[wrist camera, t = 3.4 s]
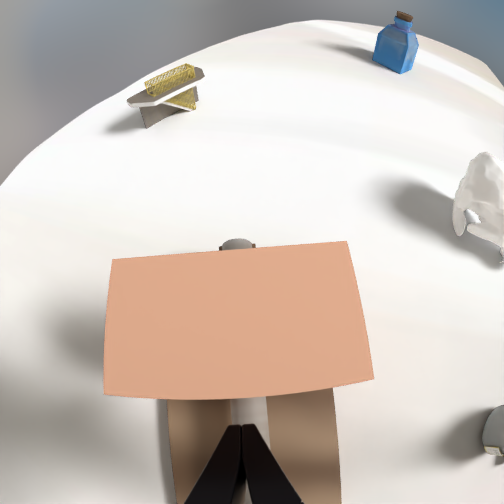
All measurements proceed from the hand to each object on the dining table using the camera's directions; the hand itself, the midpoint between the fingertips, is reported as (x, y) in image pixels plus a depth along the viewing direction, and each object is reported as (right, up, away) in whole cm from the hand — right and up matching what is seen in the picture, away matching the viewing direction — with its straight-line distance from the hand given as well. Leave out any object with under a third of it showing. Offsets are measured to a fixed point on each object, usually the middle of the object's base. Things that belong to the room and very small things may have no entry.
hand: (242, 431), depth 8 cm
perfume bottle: (+27, +42, +34) cm, 60 cm away
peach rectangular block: (0, -2, +10) cm, 10 cm away
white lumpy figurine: (+25, +7, +16) cm, 31 cm away
